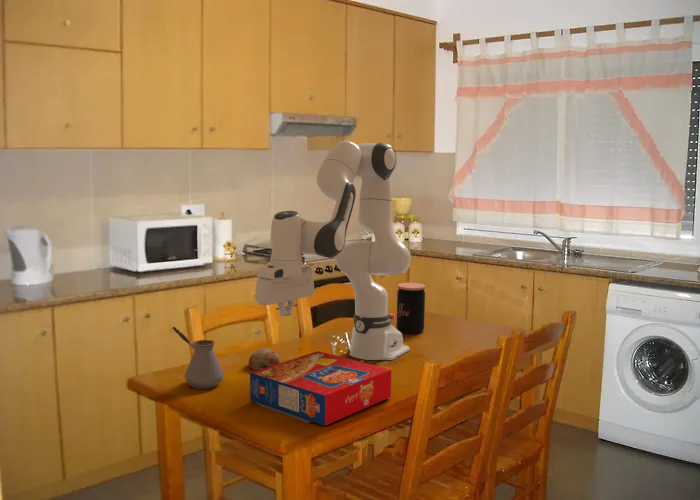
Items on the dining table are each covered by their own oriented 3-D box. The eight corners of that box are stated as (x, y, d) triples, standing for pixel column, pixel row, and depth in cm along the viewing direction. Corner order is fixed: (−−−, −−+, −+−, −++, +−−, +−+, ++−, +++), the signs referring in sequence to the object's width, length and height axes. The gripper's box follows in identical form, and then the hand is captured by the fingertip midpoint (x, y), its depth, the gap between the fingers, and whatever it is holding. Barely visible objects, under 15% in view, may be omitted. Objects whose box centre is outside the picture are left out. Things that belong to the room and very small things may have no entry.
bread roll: (250, 381, 228) (251, 362, 223) (246, 359, 236) (247, 341, 231) (280, 379, 230) (282, 360, 226) (276, 357, 238) (277, 339, 234)
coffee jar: (392, 328, 281) (393, 283, 279) (417, 326, 284) (418, 282, 282) (402, 335, 271) (403, 288, 269) (428, 333, 274) (429, 287, 272)
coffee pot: (232, 384, 214) (231, 335, 211) (200, 394, 205) (199, 343, 203) (188, 368, 228) (187, 322, 225) (157, 377, 219) (156, 329, 217)
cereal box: (318, 351, 220) (391, 369, 202) (317, 376, 221) (390, 396, 203) (249, 372, 199) (325, 395, 181) (250, 400, 200) (325, 425, 182)
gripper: (304, 262, 215) (303, 307, 217) (252, 271, 200) (252, 319, 202) (319, 265, 211) (318, 311, 213) (267, 274, 196) (267, 323, 198)
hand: (286, 315), depth 207 cm, fingers closed
